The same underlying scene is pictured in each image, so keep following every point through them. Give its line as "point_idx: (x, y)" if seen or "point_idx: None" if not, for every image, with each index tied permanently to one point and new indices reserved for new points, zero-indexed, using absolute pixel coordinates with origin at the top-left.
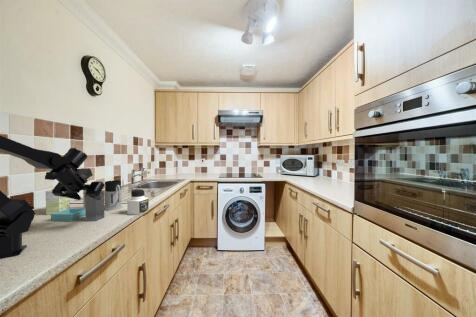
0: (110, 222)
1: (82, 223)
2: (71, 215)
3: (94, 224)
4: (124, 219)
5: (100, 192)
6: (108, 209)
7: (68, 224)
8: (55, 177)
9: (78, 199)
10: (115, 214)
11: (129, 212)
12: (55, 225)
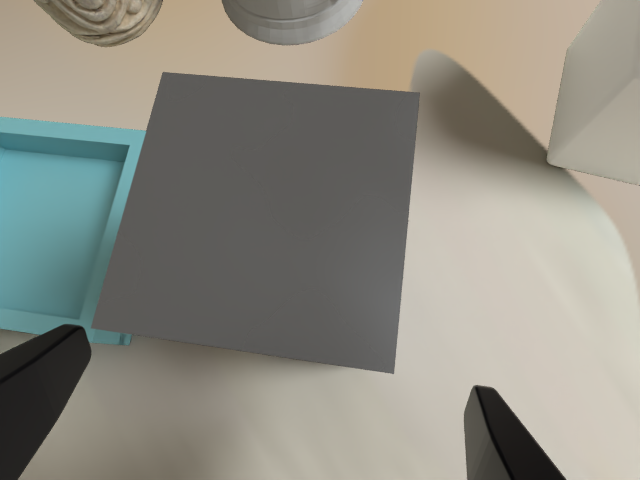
0: (538, 425)
1: (271, 427)
2: (99, 341)
3: (410, 475)
4: (626, 336)
5: (406, 221)
6: (284, 36)
7: (155, 444)
8: None
9: (71, 391)
10: (427, 166)
11: (582, 164)
12: (54, 462)
